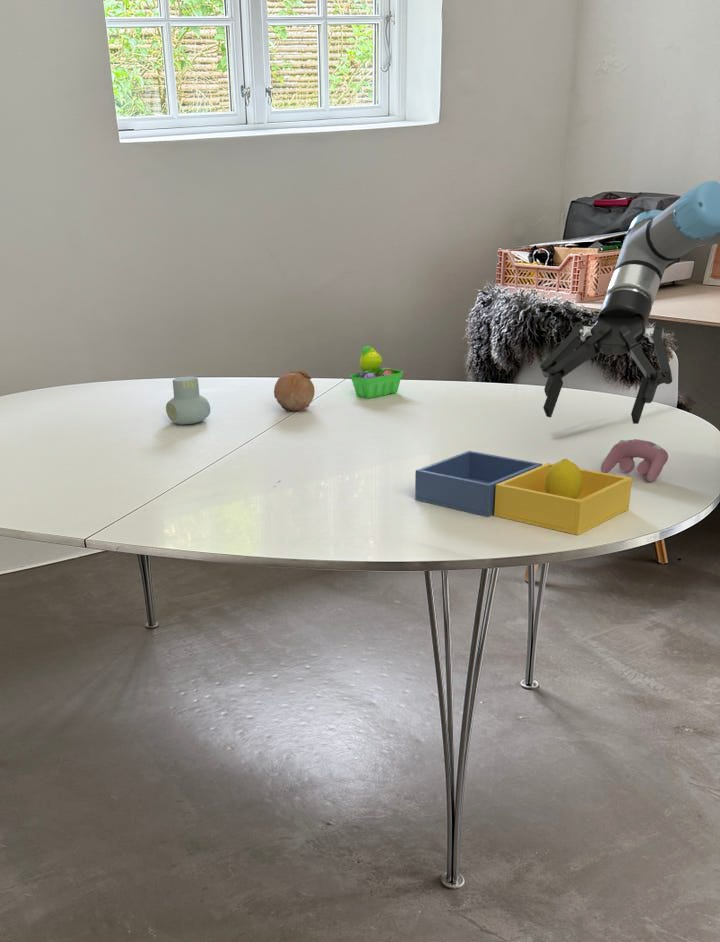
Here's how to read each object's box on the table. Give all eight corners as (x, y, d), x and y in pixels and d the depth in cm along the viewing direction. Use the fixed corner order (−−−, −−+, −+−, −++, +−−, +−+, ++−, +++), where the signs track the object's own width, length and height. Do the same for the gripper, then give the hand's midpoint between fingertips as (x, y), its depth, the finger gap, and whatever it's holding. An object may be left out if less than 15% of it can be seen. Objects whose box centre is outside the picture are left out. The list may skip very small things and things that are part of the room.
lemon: (535, 510, 149) (539, 460, 145) (554, 501, 152) (558, 452, 148) (567, 517, 145) (572, 465, 141) (586, 507, 148) (591, 457, 145)
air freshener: (214, 423, 219) (211, 379, 215) (181, 429, 216) (177, 384, 212) (196, 415, 228) (192, 372, 224) (164, 420, 225) (159, 377, 221)
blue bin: (540, 493, 158) (542, 463, 155) (488, 516, 149) (489, 485, 147) (467, 478, 168) (468, 450, 165) (414, 499, 159) (415, 470, 157)
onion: (306, 419, 229) (321, 378, 227) (304, 417, 220) (320, 375, 218) (270, 405, 230) (284, 365, 227) (266, 403, 220) (281, 361, 218)
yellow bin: (628, 509, 148) (632, 477, 145) (578, 535, 139) (581, 502, 137) (546, 492, 158) (548, 462, 156) (494, 515, 149) (495, 484, 147)
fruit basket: (367, 400, 229) (366, 352, 224) (346, 395, 236) (345, 348, 232) (404, 392, 234) (405, 345, 229) (383, 387, 241) (382, 341, 236)
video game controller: (661, 487, 161) (675, 447, 160) (651, 481, 157) (665, 440, 156) (607, 477, 168) (620, 438, 167) (596, 471, 164) (609, 432, 163)
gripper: (713, 318, 149) (676, 435, 145) (556, 315, 163) (518, 422, 159) (710, 286, 143) (671, 408, 139) (547, 286, 157) (507, 397, 153)
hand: (589, 415), depth 149 cm, fingers open, 13 cm apart
